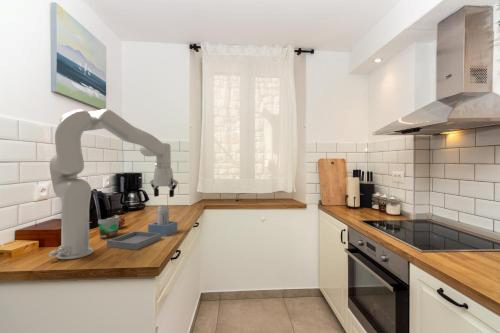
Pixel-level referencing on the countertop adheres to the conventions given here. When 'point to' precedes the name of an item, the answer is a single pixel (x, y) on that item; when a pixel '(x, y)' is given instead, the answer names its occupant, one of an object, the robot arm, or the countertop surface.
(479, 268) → the countertop surface
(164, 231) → the blue square box
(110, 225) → the food container
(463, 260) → the countertop surface
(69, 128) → the robot arm
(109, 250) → the countertop surface
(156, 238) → the tray
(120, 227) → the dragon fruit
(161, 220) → the energy drink can
